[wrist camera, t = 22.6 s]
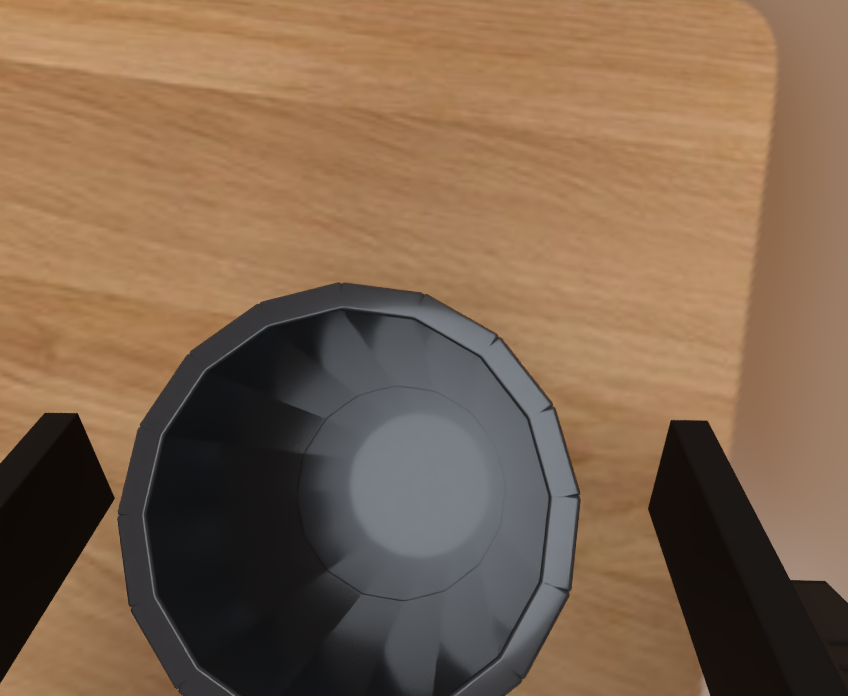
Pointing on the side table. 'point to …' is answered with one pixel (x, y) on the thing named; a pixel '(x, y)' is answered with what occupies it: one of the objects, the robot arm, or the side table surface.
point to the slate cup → (349, 505)
